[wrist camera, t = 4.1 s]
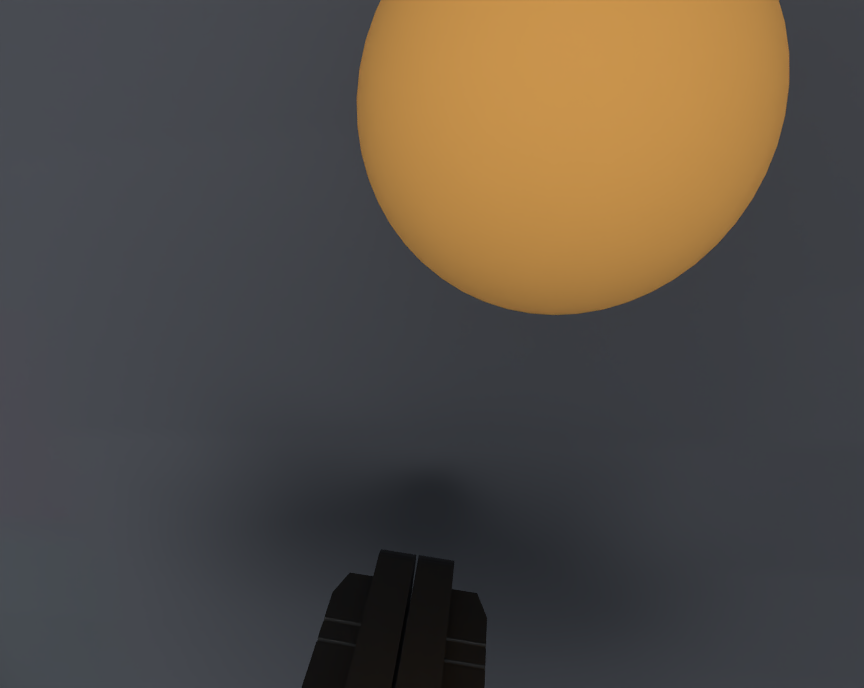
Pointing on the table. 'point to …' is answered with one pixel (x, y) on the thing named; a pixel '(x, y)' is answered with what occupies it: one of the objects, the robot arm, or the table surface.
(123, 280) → the table surface
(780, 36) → the ball
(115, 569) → the table surface
